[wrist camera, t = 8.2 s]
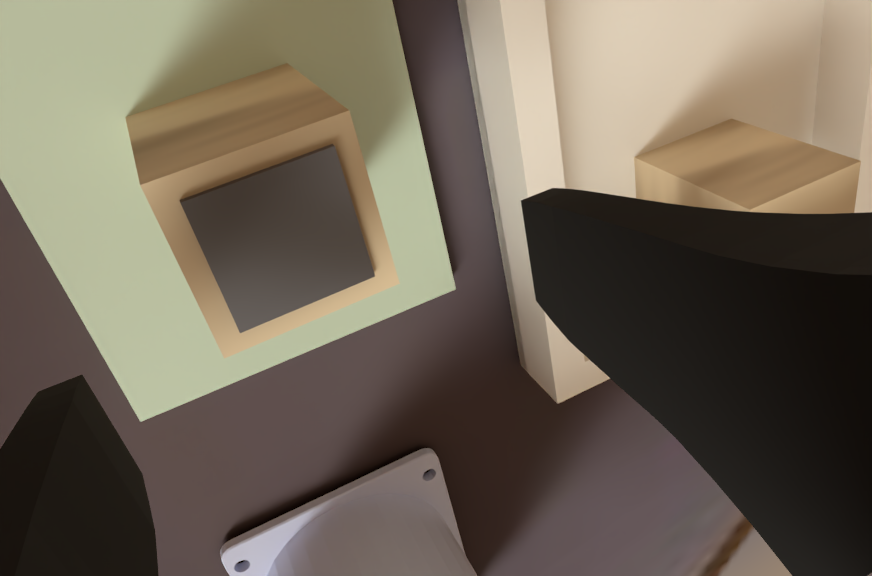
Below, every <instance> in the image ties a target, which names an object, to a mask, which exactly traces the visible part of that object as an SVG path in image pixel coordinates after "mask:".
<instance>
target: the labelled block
mask: <svg viewBox="0 0 872 576" xmlns="http://www.w3.org/2000/svg"><path fill="white" fill-rule="evenodd" d="M125 119H126V123H127V128H128V132H129V137H130V141H131V146H132V151H133V155H134V160H135V164H136V169H137V173H138V178H139V183H140V186H141V188H142V190H143V192H144V194H145V196H146V198H147V201H148V203H149V205H150V207H151V209H152V211H153V213H154V215H155V217H156V219H157V221H158V223H159V225H160V227H161V229H162V231H163V233H164V235H165V238H166V240H167V242H168V244H169V246H170V248H171V250H172V252H173V254H174V256H175V258H176V260H177V262H178V264H179V266H180V268H181V270H182V273H183V275H184V277H185V279H186V281H187V283H188V285H189V287H190V289H191V291H192V293H193V295H194V297H195V299H196V301H197V303H198V305H199V308H200V310H201V312H202V314H203V316H204V318H205V320H206V322H207V324H208V326H209V328H210V330H211V332H212V334H213V336H214V338H215V340H216V343H217V345H218V347H219V349H220V351H221V353H222V355H223V357H224V359H225V358H227V357H229V356H232V355H234V354H236V353H239V352H241V351H243V350H246V349H248V348H250V347H253V346H255V345H257V344H260V343H262V342H264V341H267V340H269V339H271V338H274V337H276V336H278V335H281V334H283V333H285V332H288V331H290V330H292V329H295V328H297V327H299V326H302V325H304V324H306V323H309V322H311V321H313V320H316V319H318V318H320V317H323V316H325V315H327V314H330V313H332V312H334V311H337V310H339V309H341V308H344V307H346V306H349V305H351V304H353V303H356V302H358V301H360V300H363V299H365V298H367V297H370V296H372V295H374V294H377V293H379V292H381V291H384V290H386V289H388V288H391V287H393V286H395V285H398V284H400V282H399V279H398V276H397V272H396V269H395V265H394V262H393V258H392V255H391V252H390V248H389V245H388V241H387V238H386V234H385V231H384V228H383V224H382V221H381V217H380V214H379V210H378V207H377V204H376V200H375V197H374V193H373V190H372V186H371V183H370V180H369V176H368V173H367V169H366V166H365V162H364V159H363V156H362V152H361V149H360V145H359V142H358V138H357V135H356V132H355V128H354V125H353V121H352V118H351V114H350V111H349V110H348V109H347V108H346V107H344V106H343V105H342V104H340V103H339V102H338V101H336V100H335V99H334V98H332V97H331V96H330V95H329V94H327V93H326V92H325V91H323V90H322V89H321V88H319V87H318V86H317V85H315V84H314V83H313V82H311V81H310V80H309V79H307V78H306V77H305V76H304V75H302V74H301V73H300V72H298V71H297V70H296V69H294V68H293V67H292V66H290V65H289V64H288V63H286V64H283V65H280V66H277V67H274V68H271V69H268V70H265V71H262V72H259V73H256V74H253V75H250V76H247V77H244V78H241V79H238V80H235V81H232V82H229V83H226V84H223V85H220V86H217V87H214V88H211V89H208V90H205V91H202V92H199V93H196V94H193V95H190V96H187V97H184V98H181V99H178V100H175V101H172V102H169V103H166V104H163V105H160V106H157V107H154V108H151V109H148V110H145V111H142V112H139V113H136V114H133V115H130V116H127V117H125Z"/></svg>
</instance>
